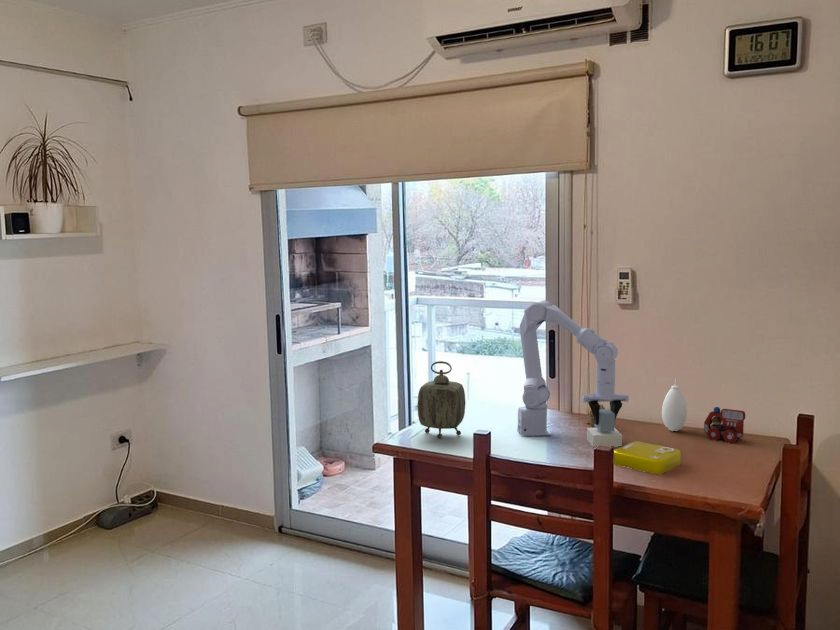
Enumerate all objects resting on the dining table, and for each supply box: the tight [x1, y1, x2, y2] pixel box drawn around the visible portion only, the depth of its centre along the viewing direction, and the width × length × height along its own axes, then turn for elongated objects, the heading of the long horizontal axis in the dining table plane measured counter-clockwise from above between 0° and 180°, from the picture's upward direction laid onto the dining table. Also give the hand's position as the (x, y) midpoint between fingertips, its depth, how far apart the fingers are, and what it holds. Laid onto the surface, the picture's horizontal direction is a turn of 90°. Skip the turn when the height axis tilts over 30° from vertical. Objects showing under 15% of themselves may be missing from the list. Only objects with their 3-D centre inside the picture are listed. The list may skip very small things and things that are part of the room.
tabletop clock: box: [416, 360, 466, 439], centre depth 238 cm, size 14×9×25 cm, turn 75°
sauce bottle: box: [661, 377, 688, 432], centre depth 245 cm, size 8×8×18 cm
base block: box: [586, 427, 623, 448], centre depth 232 cm, size 9×9×4 cm
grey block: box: [594, 408, 616, 431], centre depth 231 cm, size 4×6×6 cm
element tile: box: [613, 440, 682, 475], centre depth 210 cm, size 15×15×5 cm
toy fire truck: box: [703, 406, 746, 444], centre depth 235 cm, size 7×12×10 cm, turn 49°
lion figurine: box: [585, 403, 606, 428], centre depth 252 cm, size 15×5×9 cm, turn 6°
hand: (604, 423), depth 231 cm, fingers closed on grey block, 4 cm apart
